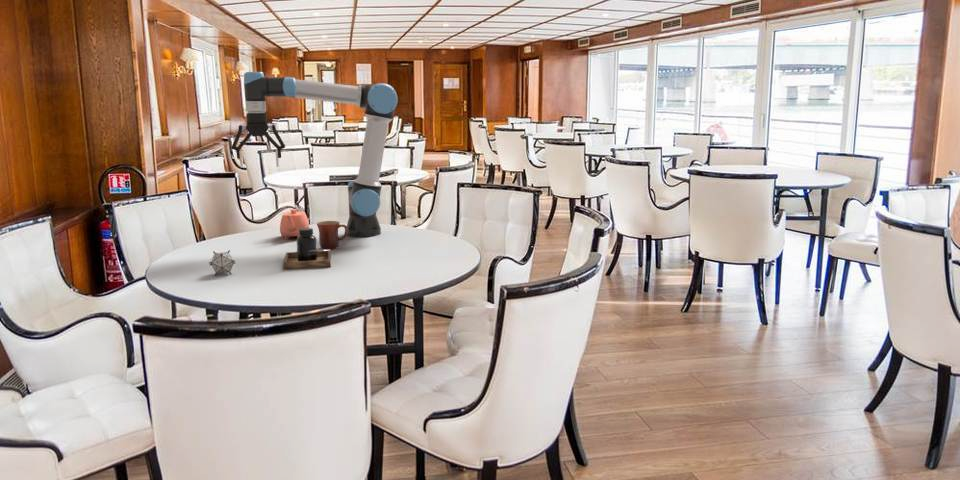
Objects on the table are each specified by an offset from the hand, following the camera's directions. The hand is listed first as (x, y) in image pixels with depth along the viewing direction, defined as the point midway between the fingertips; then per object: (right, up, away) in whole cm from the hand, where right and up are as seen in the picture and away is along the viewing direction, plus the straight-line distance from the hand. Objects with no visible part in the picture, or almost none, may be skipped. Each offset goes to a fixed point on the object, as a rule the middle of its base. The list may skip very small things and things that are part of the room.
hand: (260, 166), depth 280 cm
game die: (-1, -41, -38) cm, 56 cm away
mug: (+29, -32, +1) cm, 43 cm away
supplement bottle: (+25, -37, -24) cm, 50 cm away
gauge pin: (+24, -35, -11) cm, 44 cm away
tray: (+25, -37, -23) cm, 51 cm away
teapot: (+8, -28, +21) cm, 36 cm away
